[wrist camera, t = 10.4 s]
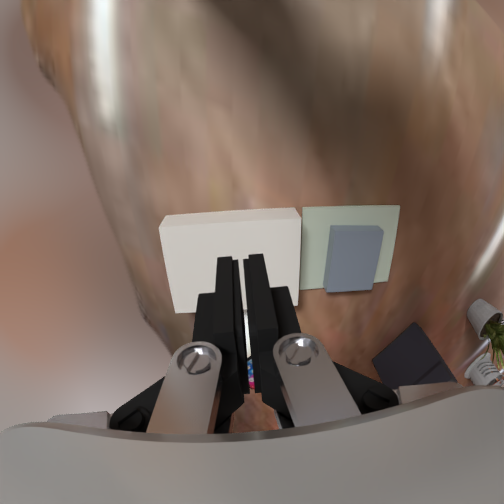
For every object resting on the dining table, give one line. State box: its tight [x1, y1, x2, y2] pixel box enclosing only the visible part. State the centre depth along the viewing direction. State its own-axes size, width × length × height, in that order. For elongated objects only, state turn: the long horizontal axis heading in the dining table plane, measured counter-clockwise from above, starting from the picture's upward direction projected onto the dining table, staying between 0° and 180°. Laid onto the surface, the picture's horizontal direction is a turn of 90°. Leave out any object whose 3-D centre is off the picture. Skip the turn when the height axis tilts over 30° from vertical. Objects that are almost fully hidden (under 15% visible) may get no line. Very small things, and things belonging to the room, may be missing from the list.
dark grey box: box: [372, 323, 457, 390], centre depth 43 cm, size 11×4×15 cm, turn 142°
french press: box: [465, 353, 504, 387], centre depth 48 cm, size 10×12×25 cm
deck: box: [159, 207, 301, 313], centre depth 37 cm, size 12×16×4 cm
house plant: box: [467, 299, 504, 369], centre depth 41 cm, size 14×14×16 cm
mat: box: [299, 205, 400, 290], centre depth 39 cm, size 12×14×1 cm
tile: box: [323, 225, 384, 292], centre depth 39 cm, size 9×7×2 cm
